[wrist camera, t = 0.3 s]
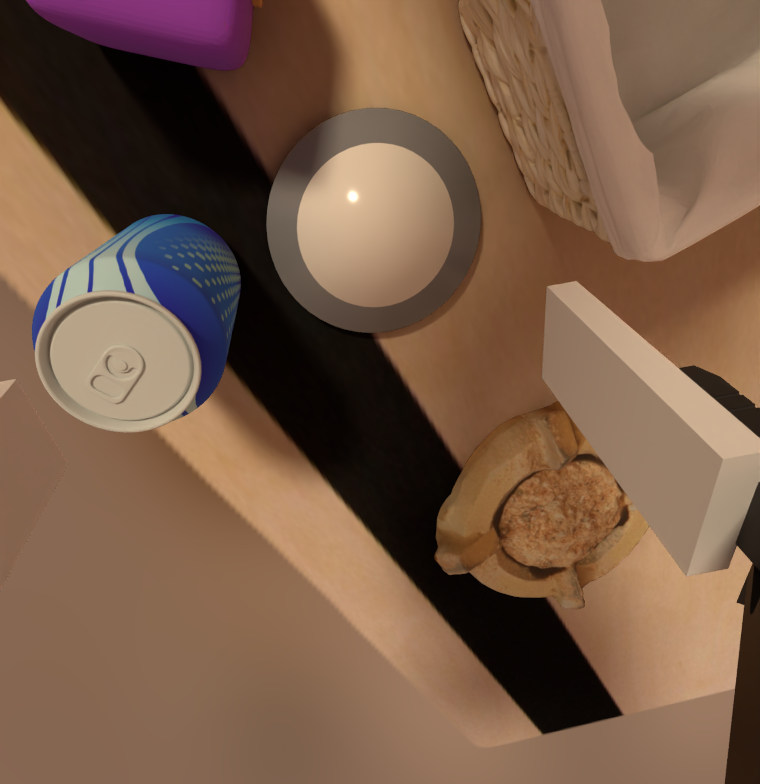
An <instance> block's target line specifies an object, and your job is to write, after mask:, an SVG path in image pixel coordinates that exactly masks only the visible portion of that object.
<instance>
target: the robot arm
mask: <svg viewBox="0 0 760 784" xmlns="http://www.w3.org/2000/svg"><path fill="white" fill-rule="evenodd" d="M542 379H543V380H544V382H545V383H546V384H547V386H548V387H549V389H550V390H551V391H552V393H553V394H554V395H555V397H556V398H557V400H558V401H559V402H560V404H561V405H562V406H563V408H564V409H565V411H566V412H567V413H568V415H569V416H570V417H571V419H572V420H573V422H574V423H575V424H576V426H577V427H578V428H579V430H580V431H581V433H582V434H583V435H584V437H585V438H586V439H587V441H588V442H589V444H590V445H591V446H592V448H593V449H594V450H595V452H596V453H597V455H598V456H599V457H600V459H601V460H602V461H603V463H604V464H605V466H606V467H607V468H608V470H609V471H610V472H611V474H612V475H613V477H614V478H615V479H616V481H617V482H618V483H619V485H620V486H621V488H622V489H623V490H624V492H625V493H626V494H627V496H628V497H629V499H630V500H631V501H632V503H633V504H634V505H635V507H636V508H637V510H638V511H639V512H640V514H641V515H642V516H643V518H644V519H645V521H646V522H647V523H648V525H649V526H650V527H651V529H652V530H653V532H654V533H655V534H656V536H657V537H658V538H659V540H660V541H661V543H662V544H663V545H664V547H665V548H666V549H667V551H668V552H669V554H670V555H671V556H672V558H673V559H674V560H675V562H676V563H677V565H678V566H679V567H680V569H681V570H682V571H683V573H684V574H685V576H686V577H687V576H692V575H697V574H702V573H707V572H712V571H717V570H722V569H728V567H729V565H730V562H731V560H732V557H733V554H734V552H735V549H736V546H738V547H739V548H740V549H741V550H742V551H743V553H744V554H745V555H746V556H747V557H748V558H749V559H750V561H751V562H752V563H753V564H752V566H751V569H750V571H749V573H748V576H747V578H746V581H745V583H744V585H743V588H742V590H741V593H740V595H739V597H738V600H737V603H740V604H742V605H744V613H743V622H742V631H741V640H740V650H739V659H738V668H737V677H736V686H735V695H734V704H733V714H732V722H731V732H730V741H729V749H728V759H727V768H726V778H725V784H760V408H756V407H755V404H754V403H753V402H751V401H750V400H749V399H747V398H746V397H745V396H744V395H739V391H737V390H736V389H735V388H734V387H732V386H731V385H730V384H729V383H727V382H726V381H725V380H724V379H722V378H721V377H720V376H717V375H715V374H713V373H710V372H708V371H706V370H703V369H701V368H699V367H696V366H688V367H683V368H677V367H676V366H675V365H674V364H673V363H672V362H670V361H669V360H668V359H667V358H666V357H665V356H663V355H662V354H661V353H660V352H659V351H658V350H656V349H655V348H654V347H653V346H652V345H651V344H649V343H648V342H647V341H646V340H645V339H644V338H642V337H641V336H640V335H639V334H638V333H637V332H635V331H634V330H633V329H632V328H631V327H630V326H628V325H627V324H626V323H625V322H624V321H623V320H621V319H620V318H619V317H618V316H617V315H616V314H614V313H613V312H612V311H611V310H610V309H609V308H607V307H606V306H605V305H604V304H603V303H602V302H600V301H599V300H598V299H597V298H596V297H595V296H593V295H592V294H591V293H590V292H589V291H588V290H586V289H585V288H584V287H583V286H582V285H581V284H579V283H578V282H577V281H573V282H568V283H562V284H556V285H551V286H547V292H546V311H545V329H544V348H543V367H542ZM67 466H68V463H67V461H66V459H65V458H64V456H63V455H62V453H61V451H60V450H59V448H58V446H57V445H56V443H55V441H54V440H53V438H52V436H51V435H50V433H49V431H48V430H47V428H46V427H45V425H44V423H43V422H42V420H41V418H40V417H39V415H38V413H37V412H36V410H35V409H34V407H33V405H32V404H31V402H30V400H29V399H28V397H27V396H26V394H25V392H24V391H23V389H22V387H21V386H20V384H19V383H18V381H17V379H14V380H8V381H3V382H0V590H1V589H2V587H3V585H4V583H5V581H6V579H7V578H8V576H9V574H10V572H11V570H12V568H13V566H14V565H15V563H16V561H17V559H18V557H19V555H20V553H21V551H22V550H23V548H24V546H25V544H26V542H27V540H28V539H29V536H30V535H31V533H32V531H33V529H34V527H35V525H36V523H37V522H38V520H39V518H40V516H41V514H42V512H43V511H44V509H45V507H46V505H47V503H48V501H49V499H50V498H51V496H52V494H53V492H54V490H55V488H56V486H57V484H58V483H59V481H60V479H61V477H62V475H63V473H64V472H65V470H66V468H67Z"/></svg>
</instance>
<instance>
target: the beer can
mask: <svg viewBox="0 0 760 784" xmlns="http://www.w3.org/2000/svg"><path fill="white" fill-rule="evenodd" d="M240 290H241V277H240V271H239V267H238V264H237V261H236V259H235V257H234V255H233V253H232V251H231V250H230V248H229V247H228V245H227V244H226V243H225V241H224V240H223V239H222V238H221V237H220V236H219V235H218V234H217V233H216V232H214V231H213V230H212V229H210V228H209V227H207V226H206V225H204V224H202V223H200V222H198V221H196V220H194V219H191V218H188V217H184V216H180V215H172V214H161V215H154V216H149V217H146V218H143V219H141V220H138V221H137V222H135V223H133V224H132V225H130V226H129V227H127V228H126V229H124V230H123V231H121V232H120V233H119V234H117V235H116V236H114V237H113V238H111V239H110V240H108V241H107V242H106V243H104V244H103V245H101V246H100V247H98V248H97V249H95V250H94V251H93V252H91V253H90V254H88V255H87V256H85V257H84V258H83V259H81V260H80V261H78V262H77V263H75V264H74V265H72V266H71V267H70V268H68V269H67V270H65V271H64V272H62V273H61V274H60V275H59V276H57V277H56V278H55V279H54V280H53V281H52V282H51V283H50V285H49V286H48V287H47V288H46V290H45V291H44V293H43V294H42V296H41V298H40V299H39V301H38V304H37V306H36V309H35V312H34V317H33V324H32V339H33V345H34V346H33V347H34V350H35V360H36V366H37V370H38V373H39V376H40V379H41V381H42V383H43V385H44V386H45V388H46V390H47V391H48V393H49V394H50V395H51V397H52V398H53V399H54V400H55V401H56V402H57V404H59V405H60V406H61V407H62V408H63V409H64V410H65V411H67V412H68V413H69V414H71V415H72V416H74V417H75V418H77V419H79V420H81V421H83V422H85V423H87V424H89V425H92V426H94V427H97V428H101V429H104V430H109V431H115V432H127V433H129V432H142V431H147V430H152V429H155V428H158V427H160V426H163V425H165V424H167V423H169V422H171V421H174V420H176V419H179V418H181V417H183V416H185V415H187V414H189V413H191V412H192V411H194V410H195V409H197V408H198V407H199V406H200V405H202V404H203V403H204V402H205V401H206V400H207V399H208V398H209V397H210V395H211V394H212V393H213V391H214V390H215V388H216V387H217V385H218V383H219V381H220V379H221V377H222V374H223V372H224V368H225V364H226V359H227V355H228V350H229V345H230V340H231V335H232V330H233V325H234V321H235V316H236V311H237V306H238V301H239V296H240Z"/></svg>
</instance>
